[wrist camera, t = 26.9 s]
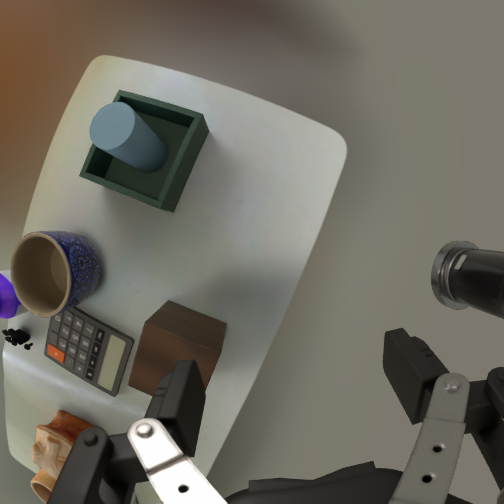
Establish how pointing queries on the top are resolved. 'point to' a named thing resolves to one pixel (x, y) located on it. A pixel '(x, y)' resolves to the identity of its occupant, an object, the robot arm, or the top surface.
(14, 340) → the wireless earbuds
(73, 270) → the planter
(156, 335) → the stand
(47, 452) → the ceramic vessel
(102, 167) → the bin
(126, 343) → the calculator
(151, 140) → the cylinder
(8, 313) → the bottle
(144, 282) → the top surface
